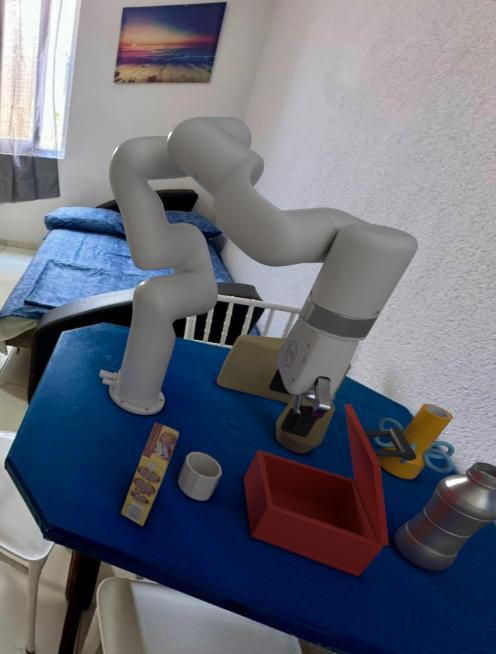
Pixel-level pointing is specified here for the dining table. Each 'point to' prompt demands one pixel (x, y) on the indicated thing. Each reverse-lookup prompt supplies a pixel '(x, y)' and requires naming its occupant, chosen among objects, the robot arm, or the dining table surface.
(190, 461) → the container
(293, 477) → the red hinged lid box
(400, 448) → the red box lid
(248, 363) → the cheese
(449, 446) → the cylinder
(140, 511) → the candy box
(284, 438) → the squeeze bottle
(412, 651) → the dining table surface
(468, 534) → the silver metal bottle
